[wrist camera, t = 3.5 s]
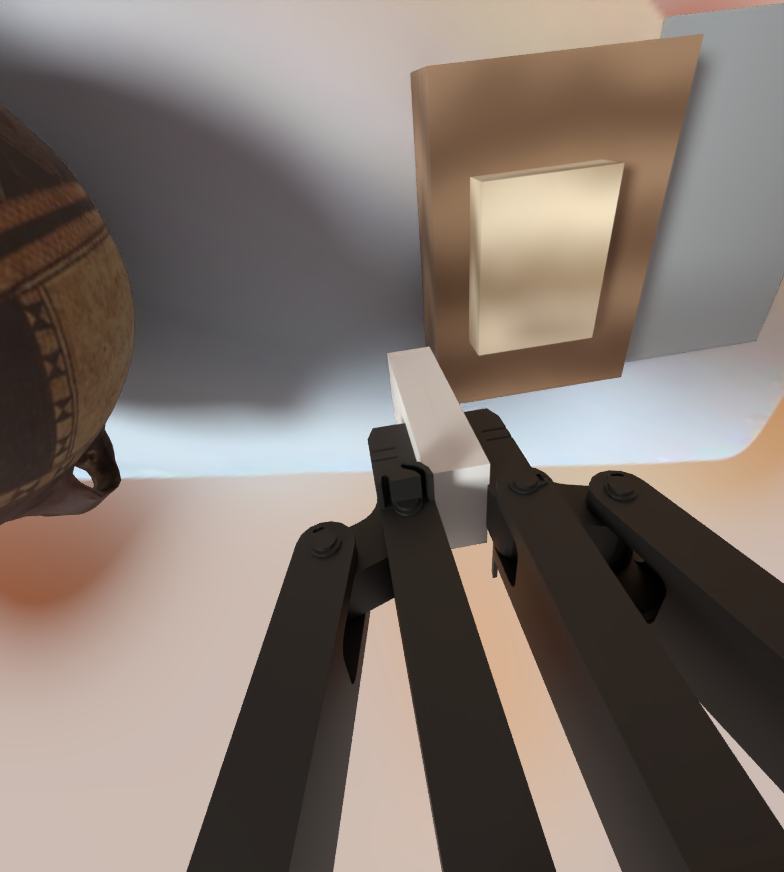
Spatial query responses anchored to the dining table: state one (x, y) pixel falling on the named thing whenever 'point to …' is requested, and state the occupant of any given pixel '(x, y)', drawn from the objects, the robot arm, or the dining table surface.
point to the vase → (56, 334)
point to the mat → (720, 192)
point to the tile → (539, 253)
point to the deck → (535, 148)
